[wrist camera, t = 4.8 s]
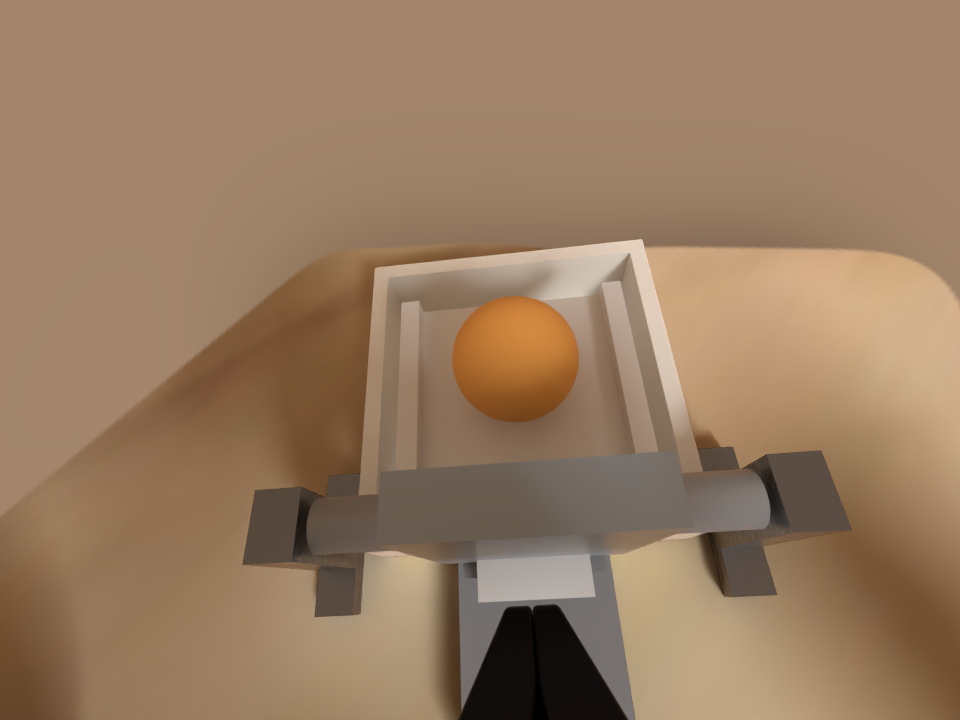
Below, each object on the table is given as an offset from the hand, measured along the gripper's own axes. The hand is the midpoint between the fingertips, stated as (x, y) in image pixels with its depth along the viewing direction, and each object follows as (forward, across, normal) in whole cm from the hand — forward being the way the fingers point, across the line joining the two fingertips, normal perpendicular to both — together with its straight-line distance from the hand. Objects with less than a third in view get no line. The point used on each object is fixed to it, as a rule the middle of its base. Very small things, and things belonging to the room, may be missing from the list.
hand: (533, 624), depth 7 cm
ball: (+7, 0, -2) cm, 7 cm away
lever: (+9, 0, +5) cm, 10 cm away
